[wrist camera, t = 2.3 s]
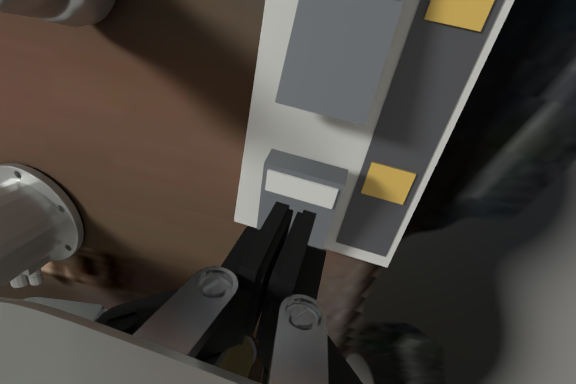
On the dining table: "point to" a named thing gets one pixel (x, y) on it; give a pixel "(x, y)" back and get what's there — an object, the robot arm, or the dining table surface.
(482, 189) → the dining table surface
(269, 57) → the switch unit
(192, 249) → the dining table surface
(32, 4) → the plastic bottle
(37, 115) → the dining table surface
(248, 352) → the canister
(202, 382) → the robot arm
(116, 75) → the dining table surface
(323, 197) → the switch
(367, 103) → the switch
